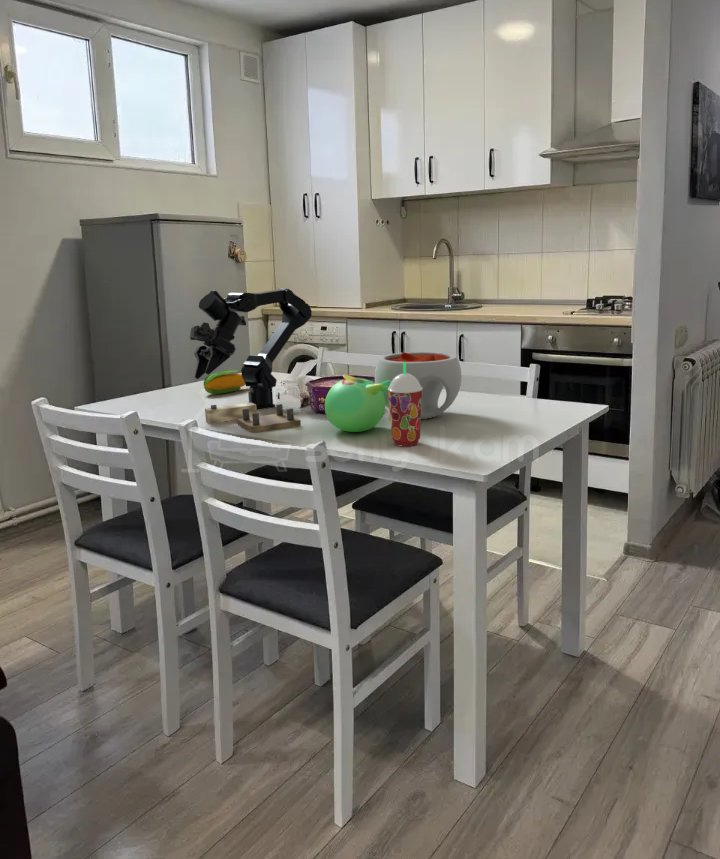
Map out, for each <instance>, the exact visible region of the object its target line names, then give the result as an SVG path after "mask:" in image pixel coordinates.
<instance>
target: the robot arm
mask: <svg viewBox="0 0 720 859" xmlns="http://www.w3.org/2000/svg"><path fill="white" fill-rule="evenodd" d="M272 304H273V305H274V304H278V306H279V310H280V311H282V313H281V322H280V324H279V325H278V327H277V328H276V329H275V331H274V332H273V334H272V335H271V337H270V338H269V339H268V341H267V342H266V343H265V345H264V346H263V347H262V349H261V351H260V352H259V353H258V354H257V355H256V354H249V355H248V356H247V359H246V360H245V361H244V362H243V363H242V365H243V366H242V367H241V370H240V372H241V374H242V378H243V380H244V382H245V385H244V386H245V387H249V391H248V403H253V404H256V408H257V409H264V408H271V407H273V408H274V407H276V404H275V403H274V399H273V397H274V395H273V388H275V387H276V386H277V378H275V376H274V375H273V374H272V372H273V363H274V361H275V360H276V358H277V357H278V355H279V354H280V352H282V350H283V348H284V347H285V346H286V344H287V342H288V341H289V340H290V338H291V337H292V335H293V334H294V332H295V331H296V330H297V329H299V328H302V327H303V326H304V325H306V324H307V323H308V322H309V321H310V319H311V318H312V315H313V313H312V309H311V306H310V305H309V303H307V302H306V301H305V300H304V299H303V298H301V297H299V296H298V295H297V294H295V293H294V292H293V291H292V290H291V289H289V288H277V289H274V290H267V291H266V290H265V291H261V292H253V293H252V292H236V291H235V292H229V293H228V294H227V297H223V296H221V295H220V293H219V292H218V291H217V290H210V292H209V293H207V294H205V295H204V296H203V297H202V298H201V299H200V300H199V302H198V308H199V309H200V310H201V311H202V312H203V313H205V315H207V316H208V318H210V319H211V320H212V321H214V322H215V321H217V323H216V325H215V327H214V328H211V326H210V323H208V322H202V323H201V324H200V325H195V326H193V327H191V328H190V334H189V340H191V341H198V342H203V345H201V346H198V347H196V348H195V350H194V352H193V355H194V357H195V358H196V361H197V365H196V369H195V373H194V379H196V380H199V379H200V378H201V377H202V376H203V375H204V374H206V375H207V376H209V375H211V374H212V373H213V371H215V370H216V369H217V368H218V367H220V366H221V365H222V364H224V363H225V362H226V361H227V360H228V359H229V358H231V357H232V356H233V355H234V354H235V353H236V352H235V351H236V345H235V344H234V343H232V341H233V340H234V339H235V338H236V336H235V333H236V331H237V330H238V328H239V326H247V321H246V318H245V316H244V315H240V314H238V313H250V312H251V311H254V310H256V309H257V308H258V307H261V306H266V305H272Z"/></svg>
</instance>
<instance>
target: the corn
mask: <svg viewBox="0 0 720 859" xmlns="http://www.w3.org/2000/svg"><path fill="white" fill-rule="evenodd" d="M238 372H239V369H237V370H235V369H234V370H224V371H219V372H216V373H215V372H214V373H211V374H209V375H207V376H206V377H205V379H204V381H203V388H204V390H205V392H206V393H208V394H211V395H223V394H222V393H224V394H228V393H227V392H229V393H232V392H231V391H234V392H236V390H237V391H239V390H240V389H241V388H242V387H244V386H246V385H245V382H244V380H243V378H242V373H238Z"/></svg>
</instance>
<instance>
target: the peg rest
mask: <svg viewBox="0 0 720 859" xmlns="http://www.w3.org/2000/svg"><path fill="white" fill-rule="evenodd" d="M283 408H284V407H283V403H277V404H275V409H276V412H275V413H273V414H264V415H260V413H258V412H257V413H253V414H252V417H249V409H248V408H245V409H242V412H243V418H242V419H237V420H236V425H237V424H238V425H237V426H239V425H240V426H239V427H241V426H242V427H241V428H243V427H244V428H243V429H244V430H246V429H247V430H246V431H248V430H249V431H248V432H250V431H251V433H252V432H255V433H260V432H267V431H268V432H269V431H274V430H275V431H276V430H281V429H287V427H288V428H294V427H293V426H295V427H301V426H302V423H301V419H299V418H296V417H294V413H295V412H294V408H292V407H291V408H290V407H289V408H286V413H284V409H283ZM300 425H301V426H300Z"/></svg>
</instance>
